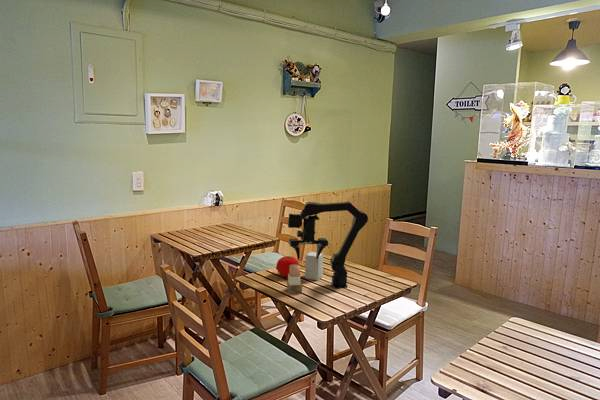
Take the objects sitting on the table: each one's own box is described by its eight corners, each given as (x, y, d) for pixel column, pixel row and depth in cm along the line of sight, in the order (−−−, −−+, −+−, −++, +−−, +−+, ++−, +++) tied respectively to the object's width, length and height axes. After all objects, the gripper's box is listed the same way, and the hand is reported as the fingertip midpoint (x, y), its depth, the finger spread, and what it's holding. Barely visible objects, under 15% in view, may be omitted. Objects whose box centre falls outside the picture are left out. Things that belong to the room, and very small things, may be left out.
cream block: (298, 281, 200) (298, 273, 199) (300, 285, 195) (300, 276, 194) (288, 281, 199) (288, 273, 198) (289, 285, 194) (290, 277, 193)
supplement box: (322, 276, 220) (324, 253, 218) (317, 280, 213) (318, 256, 211) (310, 274, 223) (311, 251, 221) (304, 278, 216) (305, 254, 214)
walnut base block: (299, 289, 201) (299, 281, 200) (301, 293, 195) (302, 285, 195) (287, 289, 200) (287, 281, 199) (289, 294, 194) (289, 285, 193)
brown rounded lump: (298, 273, 199) (299, 264, 199) (300, 276, 194) (301, 267, 194) (288, 273, 198) (288, 264, 198) (290, 277, 193) (290, 267, 193)
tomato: (299, 279, 213) (300, 259, 212) (275, 278, 213) (276, 258, 212) (299, 272, 224) (300, 253, 223) (276, 271, 225) (277, 252, 223)
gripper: (323, 224, 212) (321, 254, 215) (287, 224, 208) (286, 255, 211) (329, 229, 202) (327, 260, 204) (291, 229, 197) (290, 261, 200)
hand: (307, 259), depth 205 cm, fingers open, 9 cm apart
